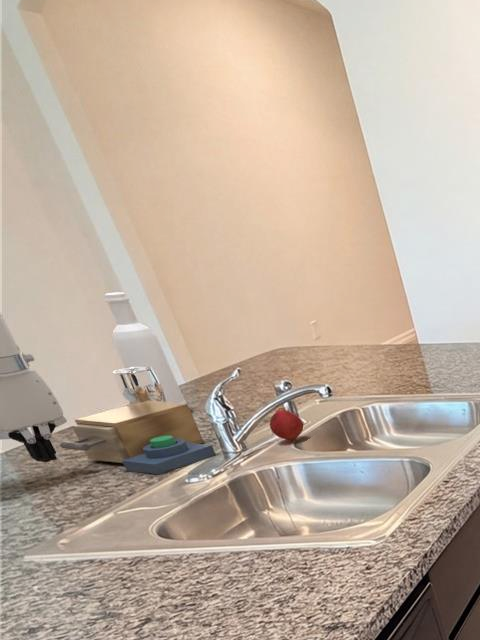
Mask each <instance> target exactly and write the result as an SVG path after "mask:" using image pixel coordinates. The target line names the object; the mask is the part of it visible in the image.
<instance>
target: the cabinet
mask: <svg viewBox="0 0 480 640" xmlns="http://www.w3.org/2000/svg"><path fill="white" fill-rule="evenodd" d="M74 421H75V425H76V424H84V425H90V424H91V425H102V426H112V427H115V429H116V431H117V433H118V435H119V437H120V439H121V441H122V443H123V445H124V447H125V449H126V451H127V453H128V455H129V457H130V458H132V457H135V456H138V455H141V454H144V453H145V452H144V450H143V447H145V446H147V445H149V444H151V443H150V440H151V439H153V438H156V437H161V436H173V438H174V439H183V440H185V442H186V443H194V444H204V443H205V441H204V439H203V437H202V434H201V432H200V430H199V428H198V425H197V422H196V420H195V419H194V416H193V413H192V411H191V409H190V407H189V404H188V403H187V404H185V403H173V402H160V401H144V402H141V403H137V404H133V405H129V404H128V405H125V406H122V407H121V406H120V407H117V408H113V409H110V410H106V411H102V412H98V413H94V414H90V415H85V416H83V417H79V418H74ZM96 461H98V462H105V463H106V462H107V463H116V464H123V463H122V462H113V461H104V460H96Z"/></svg>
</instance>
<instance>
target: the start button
mask: <svg viewBox="0 0 480 640" xmlns="http://www.w3.org/2000/svg"><path fill="white" fill-rule="evenodd" d="M150 443H151V445H152V447H153V448H163V447H168V446H171V445H174V444H176V442H175V440H174V438H173V436H161V437H156V438H153V439H151V440H150Z"/></svg>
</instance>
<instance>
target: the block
mask: <svg viewBox="0 0 480 640" xmlns="http://www.w3.org/2000/svg"><path fill="white" fill-rule="evenodd" d="M174 440H175V442H176V444H174V445H171V446H168V447H163V448H153V447H152V445H151V444H149V445H147V446H145V447H143V450H144V452H145V453H144V454H141V455H138V456H135V457H132V458H129V459H126V460H122V462H123V463H122V464H123V466H124V468H125V470H126V471H127V472H134V473H144V474H151V475H152V474H153V475H161V474H165V473H167V472H171V471H173V470H176V469H180V468H183V467H185V466H187V465H191V464H193V463H196V462H199V461H201V460H205V459H208V458H210V457H213V456H216V452H215V449H214V447H213V445H212V444H204V443H201V444H194V443H186V442H185V440H183V439H174Z"/></svg>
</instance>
